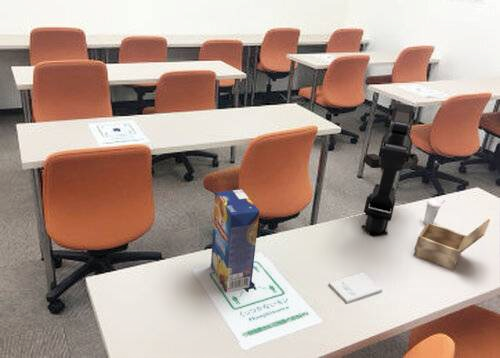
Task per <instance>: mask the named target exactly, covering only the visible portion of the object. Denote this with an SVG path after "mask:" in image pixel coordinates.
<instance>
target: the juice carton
mask: <svg viewBox="0 0 500 358" xmlns="http://www.w3.org/2000/svg"><path fill="white" fill-rule="evenodd" d="M213 207H214V208H213V209H214V211H213V224H212V238H211V239H212V241H211V258H210V259H211V260H210V267H211V269H212V270H213V272H214V274H215V276H216V278H217V280H218V282H219V284H220V285H221V288H222V289H223V290H224V292H225V293H228V292H233V291H238V290H241V289H242V290H243V289H248V288H251V287H252V281H253V280H252V279H253V274H254V273H253V271H254V264H255V262H254V261H255V255H256V254H255V253H256V246H257V245H256V244H257V236H258V227H259V219H260V218H259V217H260V210H259V208H258V207H257V206H256V205H255V204H254V202H253V201H252V199H250V197H249V196H248V195H247V194H246V193H245V191H244V190H243V189H242V188H240V189H238V188H237V189H231V190H230V189H229V190H222V191H215V192H214V206H213Z"/></svg>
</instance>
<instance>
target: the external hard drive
mask: <svg viewBox="0 0 500 358" xmlns="http://www.w3.org/2000/svg"><path fill="white" fill-rule="evenodd" d="M327 285H328V287H330V289H331V290H333V292H334V293H336V294H337V295H338V297H339V298H340V299H341V300H342V301H343V302H344V303H345V304H350V303H354V302H357V301H359V300H362V299H366V298H368V297H371V296H374V295H376V294H380V293H382V292H383V288H381V286H380V285H379V284H377V283H376V282H375V281H374V280H373V279H372V278H370V277H369V276H368V275H367V273H365V272H361V273H357V274H353V275H350V276H348V277H345V278H340V279H338V280H334V281H332V282H331V281H330V282H329V283H328V284H327Z"/></svg>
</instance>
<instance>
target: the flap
mask: <svg viewBox="0 0 500 358" xmlns="http://www.w3.org/2000/svg"><path fill="white" fill-rule="evenodd" d="M490 222H491V219H490V218H488V219H486V220H485V221H484V222H483V223H482V224H480V225H478V227H476V228H475V229H473V231H471V232H470V233H469V234H467V235H466V236H467V237H466V239H465V241H464V243H463V246H462V248H461V250H460V252H461V253H463V252H464V251H466V250H467V249H469V247H471V246H472V245H474V244H475V243H476V242H477V241H478V240H480V239H482V238H483V237H484V236H485V235H486V232H487V229H488V226H489V223H490Z"/></svg>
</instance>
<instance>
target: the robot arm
mask: <svg viewBox="0 0 500 358" xmlns="http://www.w3.org/2000/svg"><path fill="white" fill-rule="evenodd" d="M416 110H417V109H415V106H414V105H411V104H405V103H400V102H394V105H391V106H390V108H388V113H387V118H388V120H389V121H390V126H389V129H388V131H387V132H386V133H385V134H384V135H383V136H382V139H381V144H380V148H379V151H378V155H377V154H376V153H368V154H367V153H366V154H365V155H364V157H363V163H365V164H366V165H367V166H369V167H370V168H371V169H381V177H380V181H379V184H378V183H376V184H374V188H373V191H372V193H369V195H368V196H367V197H366V201H365V204H364V209H363V213H364V216H367V217H366V219H365V224H362V225H361V227H362V228H363V230H364V231H365V232H366V233H368V235H369V236H371V237H379V236H386V235H388V233H389V232H388V231H387V228H388V224H389V222H391V221H392V217H393V213H394V208H395V204H396V203H395V202H396V198H395V190H396V189H395V187H393V186H394V182H395V179H396V176H397V172H399V171H402V170H409V169H410V167H412V166H417V165H418V162H419V157H418V155H417V154H416V153H413V152H411V151H412V148H413V147H412V146H413V140H412V137H411V135H410V133H409V131H410V126H411V125H412V124H413V122H414V118H415V115H416ZM405 142H406V144H407V145H406V144H405Z"/></svg>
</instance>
